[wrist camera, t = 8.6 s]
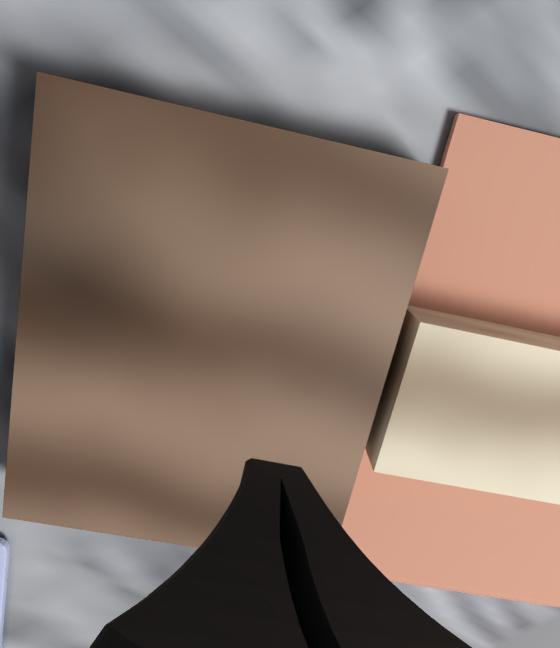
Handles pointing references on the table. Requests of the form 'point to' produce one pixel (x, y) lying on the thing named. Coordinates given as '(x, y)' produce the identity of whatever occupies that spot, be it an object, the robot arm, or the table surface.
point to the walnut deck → (199, 309)
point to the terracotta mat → (493, 306)
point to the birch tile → (471, 407)
